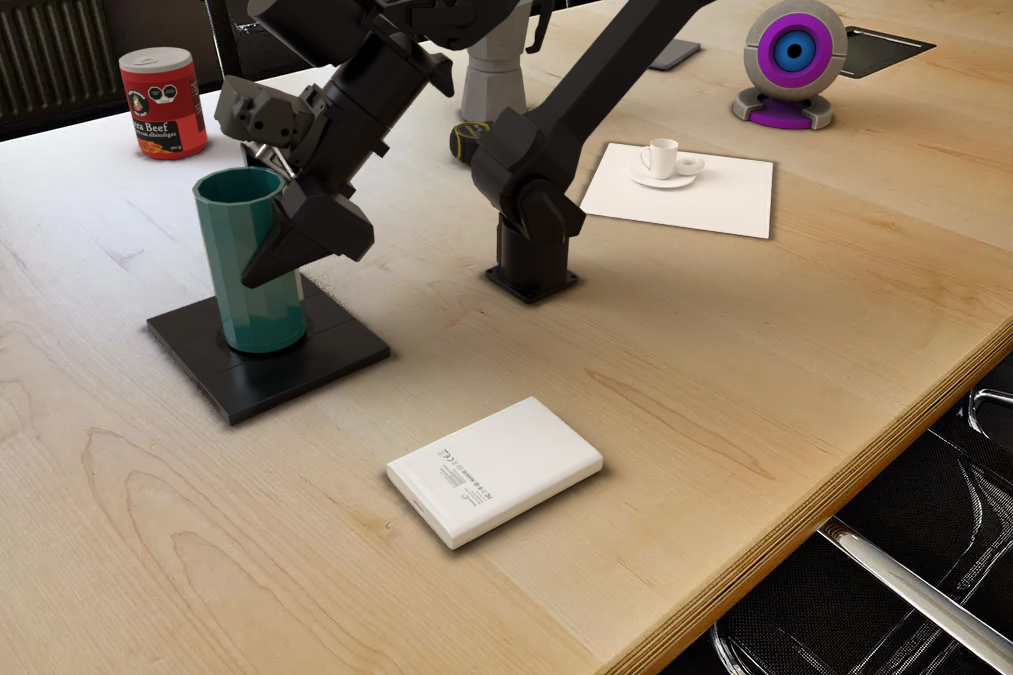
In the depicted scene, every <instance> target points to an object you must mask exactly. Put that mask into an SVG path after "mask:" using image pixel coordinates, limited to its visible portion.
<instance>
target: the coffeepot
mask: <svg viewBox="0 0 1013 675" xmlns="http://www.w3.org/2000/svg"><path fill="white" fill-rule="evenodd" d="M538 3H541V8H540V11H539V16H538V22H537V25H536V27H535V30H534V38H533V40H534V41H533V43H532V45H530V46H526V47H525V45H526V41H527V40H526V39H527V33H528V28H529V22H530V16H531V11H532V6H534V5H536V4H538ZM555 4H556V3H555V0H521V1H520V2H519V3H518V5H517V6H516V8H515V9H514V11H513V12H512V13H511V15H510V16H509V18H508V19H507V20H506V21H504V22H503V23H502V24H501V25H499V26H498V27H497V28H495V29H494V30H493V31H492V32H490V33H489V34H488V35H487V36H485V37H484V38H483V39H482V40H480V41H479V42H478V43H476V44H475V45H474V46H472V47H469V48H467V49H466V52H467V54H468V65H467V68H466V71H465V72H466V73H465V78H464V86H463V93H462V99H461V105H460V111H461V117H462V119H463V120H464V121H466V122H485V121H493V122H494V123H495V121H496V120H497V118H498V116H499V115H500V113H501V112H502V111H503V110H504V109H505V108H506V107H511V108H513V109H514V110H515V111H517V112H518V113H519V114H520V115H521V114H523V113H526V112H528V107H527V99H526V90H525V85H524V84H525V83H524V76H523V69H522V67H521V55H523V54H524V51H525V53H526V54H527V55H534V54H537V53H539V52H540V51H541V49H542V46H543V43H544V40H545V36H546V34H547V31H548V27H549V24H550V21H551V18H552V15H553V12H554V8H555Z"/></svg>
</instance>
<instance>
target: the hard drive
mask: <svg viewBox="0 0 1013 675" xmlns="http://www.w3.org/2000/svg"><path fill="white" fill-rule="evenodd" d="M603 465H604V456H603V455H602V453H601V452H600V451H598V449H597V448H595V447H594V446H593V445H591V443H589V442H588V441H587V440H586V439H585V438H583V437H582V436H581V435H580V434H579V433H578V432H576V431H575V430H574V429H573V428H572V427H570V426H569V425H568V424H567V423H566V422H564V421H563V420H562V419H561V418H560V417H559V416H558V415H556V414H555V413H554V412H553V411H552V410H551V409H549V408H548V407H547V406H546V405H544V403H542V402H541V401H540V400H538V399H537V398H536V397H535V396H529V397H527V398H525V399H523V400H520V401H518V402H516V403H514V404H512V405H510V406H507V407H505V408H503V409H501V410H499V411H497V412H494V413H493V414H490V415H488V416H486V417H484V418H482V419H480V420H478V421H476V422H473V423H470V424H469V425H466V426H465V427H462V428H460V429H459V430H456V431H454V432H452V433H450V434H447V435H445V436H443V437H441V438H439V439H437V440H435V441H433V442H431V443H429V444H426V445H424V446H422V447H420V448H418V449H416V450H413V451H412V452H409V453H407V454H405V455H403V456H400V457H398V458H396V459H394V460H392V461H390V462H388V463H386V472H387V473H386V474H387V477H388V479H389V480H390V482H391V483H392V485H394V487H395V488H396V489H397V490H398V491H399V493H400V494H402V496H403V497H404V498H405V499H406V500H407V501H408V503H409V504H410V505H411V506H412V507H413V508H414V510H415V511H416V512H417V513H418V514H419V515H420V516H421V518H422V519H423V520H424V521H425V522H426V523H427V525H428V526H429V527H430V528H431V529H432V531H433V532H434V533H435V534H436V535H437V536H438V537H439V538H440V540H441V541H442V542H443V543H444V544H445V545H446V546H447V548H449V549H450V550H452V551H454V550H456V549H458V548H460V547H462V546H463V545H465V544H467V543H469V542H472V541H474V540H475V539H477V538H479V537H480V536H482V535H484V534H486V533H488V532H490V531H492V530H493V529H495V528H497V527H499V526H501V525H503V524H505V523H506V522H509V521H510V520H512V519H513V518H516V517H517V516H520V515H521V514H522V513H525V512H527V511H528V510H530V509H532V508H533V507H536V506H538V505H539V504H541V503H543V502H545V501H546V500H548V499H550V498H552V497H554V496H556V495H557V494H559V493H561V492H563V491H565V490H567V489H568V488H570V487H572V486H574V485H575V484H577V483H580V482H581V481H583V480H585V479H587V478H588V477H591V476H593V475H595V474H596V473H598V472H599V471H601V470H602V469H603V467H604V466H603Z"/></svg>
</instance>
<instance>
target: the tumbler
mask: <svg viewBox="0 0 1013 675" xmlns="http://www.w3.org/2000/svg"><path fill="white" fill-rule="evenodd" d="M286 188H287V182H286V180H285V178H284V177H283V175H282V174H281V173H279V172H277V171H274V170H272V169H269V168H262V167H253V166H247V167H245V166H236V167H228V168H225V169H221V170H217V171H214V172H210V173H209V174H207V175H205V176H203V177H202V178H200V179H198V180H197V181H196V183H194V185H193V187H192V188H191V193H192V197H193V202H194V206H195V211H196V215H197V220H198V224H199V228H200V234H201V238H202V242H203V247H204V251H205V255H206V260H207V265H208V270H209V274H210V275H209V276H210V280H211V284H212V288H213V292H214V296H215V297H216V302H217V307H218V311H219V316H220V320H221V325H222V328H223V331H224V336H225V339H226V341H227V343H228V344H229V345H230V346H232V347H233V348H235V349H237V350H240V351H243V352H249V353H266V352H272V351H276V350H280V349H283V348H285V347H288V346H290V345H292V344H293V343H295V342H296V341H298V340H299V339H300V338H301V337H302V336H303V334H304V333H305V331H306V327H307V324H306V310H305V303H304V297H303V290H302V283H301V276H300V272H301V270H300V268H297V269H295V270H293V271H291V272H289V273H286V274H284V275H282V276H280V277H278V278H276V279H274V280H271V281H269V282H267V283H265V284H263V285H261V286H259V287H256V288H254V289H250V288H248V287H246V286H244V285H242V283H241V278H242V276H243V274H244V272H245V270H246V268H247V266H248V264H249V263H250V261H251V259H252V258H253V256H254V255H255V253H256V251H257V250H258V248H259V246H260V245H261V243H262V241H263V240H264V238H265V236H266V235H267V233H268V231H269V230H270V228H271V227H272V225H273V215H272V208H271V201H270V198H271V196H272V197H274V198H275V199H277V200H278V201H280V202H281V201H282V198H283V194H284V191H285V189H286Z"/></svg>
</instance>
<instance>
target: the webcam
mask: <svg viewBox="0 0 1013 675" xmlns="http://www.w3.org/2000/svg"><path fill="white" fill-rule="evenodd" d="M744 45H745V46H743V65H744V69H745V72H746V75H747V77H748V79H749V81H750V82H751V84H752V85H753V86H752V87H747V88H744V89H743V90H741V91H739V92H738V93H737V95H736V96H735V99H734V101H733V106H732V108H733V112H734V114H735V115H736V116H737V117H738V118H740V119H742V120H743V121H747V120H749V121H752V122H753V123H756V124H760V125H763V126H766V127H767V126H768V127H772V128H779V129H787V130H788V129H789V130H790V129H791V130H792V129H793V130H799V129H800V130H801V129H813V130H818V129H822V128H825V127H826V126H827V125H829V124H830V122H831V121H832V117H833V113H834V112H833V105H832V102H830V101H829V99H827V98H825V97H823V96H822V95H820V94H822V93H823V92H824V91H825V90H827V89H828V88H829V87H830V86H831V85H832V84H834V82H835V81H836V80H837V78H838V76H840V73H841V72H842V71H843V70H842V69H843V68H844V66H845V62H846V59H847V58H846V57H845V56H847V55H848V50H849V49H848V48H849V47H848V46H849V40H848V34H847V30H846V28H845V24H844V23H843V21H842V19H841V17H840V15H839V14H837V12H836V11H835V10H834V9H833V8H831V7H830V6H829V5H827V4H826V3H824V2H822V1H819V0H782V1H779V2H777V3H775V4H773V5H772V6H770V7H768V8H767V9H766V10H764V12H762V13H761V14H760V15H759V16H758V17H757V18H756V19H755V21H754V22H753V24H752V25H751V27H750V29H749V31H748V33H747V35H746V38H745V40H744Z"/></svg>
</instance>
